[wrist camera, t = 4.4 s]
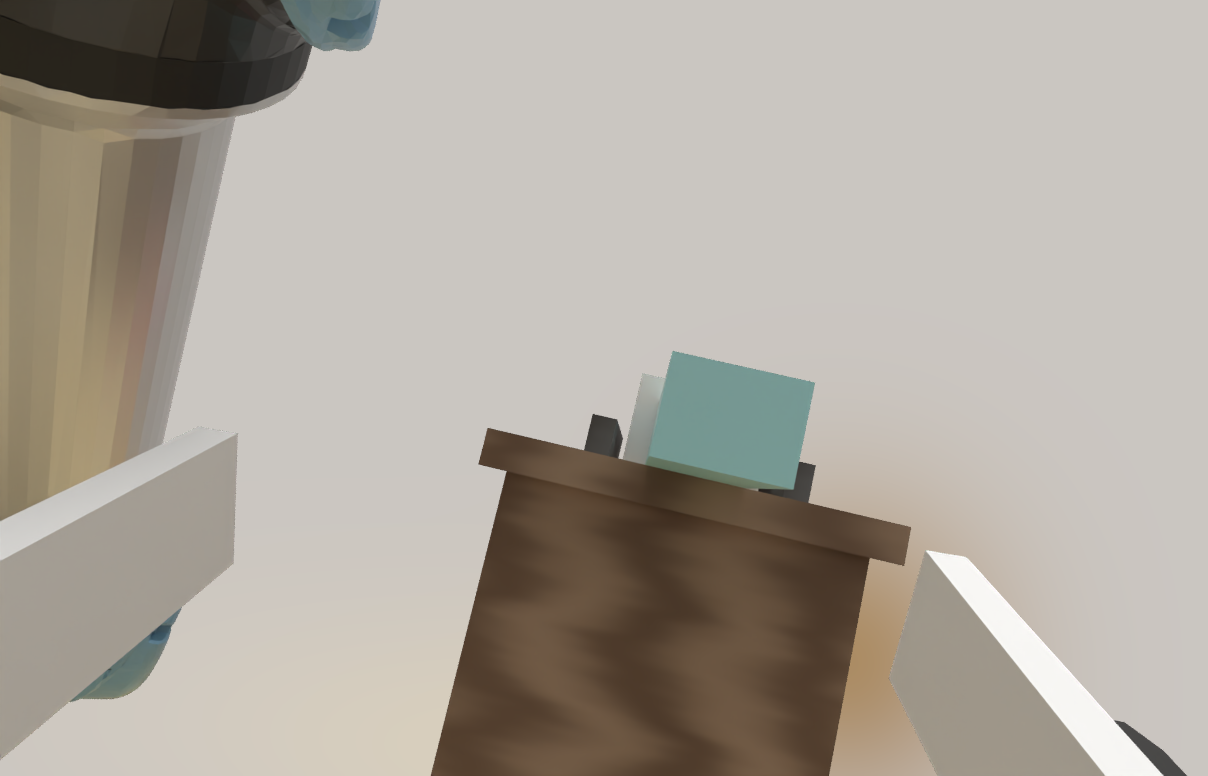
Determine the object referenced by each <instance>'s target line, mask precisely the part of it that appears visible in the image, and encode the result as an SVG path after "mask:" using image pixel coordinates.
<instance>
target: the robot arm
mask: <svg viewBox="0 0 1208 776" xmlns="http://www.w3.org/2000/svg"><path fill="white" fill-rule="evenodd" d="M379 4H380V0H0V760H1V759H2V758H3V757H4V756H5V755H7V754H8V753H9V752H10V751H11V750H12V749H14V748H15V747H16V746H17V745H19V744H20V743H21V742H22V741H23V740H24V739H25V738H27V737H28V736H29V735H30V734H32V733H33V732H34V731H35V730H36V729H37V728H39V727H40V726H41V725H42V724H43V723H45V722H46V721H47V720H48V719H49V718H51V717H52V716H53V715H54V714H55V713H57V712H58V711H59V710H60V709H61V708H62V707H64V706H65V705H66V704H67V703H68V702H72V701H76V700H79V699H114V698H119V697H123V696H125V695H128V694H130V693H131V692H133V691H134V690H136V689H137V688H138V687H139V686H140V685H141V684H142V683H143V682H144V681H145V680H146V679H147V677H148V676H149V675H150V673H151V672H152V670H153V669H154V667H155V665H156V663H157V661H158V660H159V658H160V656H161V654H162V651H163V650H164V648H165V645H166V643H167V641H168V638H169V635H170V631H171V626H172V625H173V624H174V622H175V620H176V618H177V616H178V614H179V612H180V610H181V608H182V606H184V605H185V604H186V603H187V602H188V601H189V600H191V599H192V598H193V597H194V596H195V595H197V594H198V593H199V592H200V591H201V590H202V589H204V588H205V587H206V586H207V585H208V584H209V583H211V582H212V581H213V580H214V579H215V578H217V577H218V576H219V575H220V574H222V573H223V572H224V571H225V570H226V569H227V568H229V567H230V566H231V565H232V564H233V557H234V529H235V526H234V525H235V498H236V495H235V494H236V466H237V435H238V434H237V433H233V432H227V431H221V430H215V429H209V428H204V427H197V428H195V429H193V430H191V431H188V432H186V433H184V434H182V435H180V436H178V437H176V438H174V439H172V440H170V441H168V442H165V443H163V439H164V434H165V430H166V425H167V421H168V416H169V412H170V408H171V403H172V399H173V394H174V390H175V385H176V381H177V376H178V372H179V367H180V363H181V358H182V354H183V349H184V344H185V340H186V336H187V331H188V327H189V322H190V317H191V313H192V309H193V304H194V300H195V295H196V291H197V286H198V282H199V277H200V273H201V269H202V264H203V260H204V255H205V251H206V246H207V241H208V237H209V233H210V228H211V224H212V219H213V214H214V210H215V206H216V201H217V197H218V192H219V188H220V183H221V179H222V174H223V170H224V165H225V161H226V156H227V152H228V147H229V143H230V138H231V134H232V130H233V125H234V121H235V117H236V116H240V115H245V114H249V113H253V112H255V111H258V110H261V109H264V108H267V107H270V106H272V105H274V104H275V103H277V102H279V101H281V100H283V99H284V98H286V97H287V96H288V95H289V94H290V93H292V92H293V91H294V90H295V89H296V87H297V86H298V84H299V82H300V81H301V79H302V78H303V75H304V72H305V69H306V66H307V62H308V58H309V55H310V52H311V48H312V46H314V47H316V48H318V49H321V50H323V51H330V50H333V49H341V50H346V51H359V50H361V49H363V48H365V47H366V46H367V45H368V44H369V43H370V41H371V39H372V34H373V32H374V28H375V24H376V19H377V14H378V9H379ZM162 443H163V444H162ZM889 680H890V682H891V684H892V686H893V688H894V690H895V692H896V693H897V696H898V697H899V700H900V702H901V703H902V706H903V708H904V710H905V712H906V714H907V716H908V718H909V720H910V722H911V724H912V726H913V727H914V729H915V731H916V733H917V735H918V737H919V739H920V741H921V743H922V745H923V747H924V749H925V751H926V753H927V755H928V757H929V759H930V761H931V763H932V765H933V767H934V769H935V771H936V773H937V775H938V776H1187V775H1186V774H1185V773H1184V772H1183V771H1182V770H1181V769H1180V768H1179V767H1178V766H1177V765H1176V764H1175V763H1174V762H1173V760H1172V759H1171V758H1170V757H1169V756H1168V755H1167V754H1166V753H1165V752H1164V751H1163V750H1162V749H1160V748H1159V747H1158V746H1156V745H1155V744H1153V743H1152V742H1151V741H1149V740H1148V739H1147V738H1145V737H1144V736H1143V735H1141V734H1140V733H1138V732H1137V731H1136V730H1134V729H1133V728H1131V727H1130V726H1129V725H1127V724H1126V723H1124V722H1120V721H1114V720H1113V719H1112V718H1111V717H1110V716H1109V715H1108V714H1107V713H1106V711H1105V710H1104V709H1103V708H1102V707H1101V706H1100V705H1099V704H1098V703H1097V702H1096V700H1095V699H1094V698H1093V697H1092V696H1091V695H1090V694H1089V693H1088V691H1087V690H1086V689H1085V688H1084V687H1083V686H1082V685H1081V684H1080V683H1079V681H1078V680H1077V679H1076V678H1075V677H1074V676H1073V675H1072V674H1071V673H1070V671H1069V670H1068V669H1067V668H1066V667H1065V666H1064V665H1063V664H1062V663H1061V662H1060V661H1059V659H1058V658H1057V657H1056V656H1055V655H1054V654H1053V653H1052V652H1051V650H1050V649H1049V648H1048V647H1047V646H1046V645H1045V644H1044V643H1043V641H1042V640H1041V639H1040V638H1039V637H1038V636H1037V635H1036V634H1035V633H1034V632H1033V630H1032V629H1031V628H1030V627H1029V626H1028V625H1027V624H1026V623H1025V621H1024V620H1022V618H1021V617H1020V616H1019V615H1018V614H1017V613H1016V611H1014V609H1013V608H1012V607H1011V606H1010V605H1009V604H1008V603H1007V601H1006V600H1005V599H1004V598H1003V597H1002V596H1001V595H1000V594H999V593H998V591H997V590H996V589H995V588H994V587H993V586H992V585H991V584H990V583H989V582H988V580H987V579H986V578H985V577H984V576H983V575H982V574H981V573H980V571H978V569H977V568H976V567H975V566H974V565H973V564H972V563H971V561H970V560H969V559H968V558H967V557H962V556H956V555H950V554H944V553H939V552H933V551H927V550H926V551H925V554H924V558H923V561H922V564H921V568H920V571H919V575H918V578H917V582H916V585H915V589H914V592H913V596H912V599H911V602H910V606H909V609H908V613H907V616H906V620H905V623H904V627H903V630H902V634H901V637H900V641H899V644H898V648H897V651H896V655H895V658H894V662H893V665H892V669H891V672H890V676H889Z"/></svg>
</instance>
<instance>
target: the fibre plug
mask: <svg viewBox="0 0 1208 776" xmlns="http://www.w3.org/2000/svg"><path fill="white" fill-rule="evenodd" d="M814 385H815V383H814V382H810V381H805V380H801V379H796V378H791V377H787V376H783V375H778V374H774V373H769V372H765V371H760V370H756V369H751V368H747V367H742V366H738V365H733V364H729V363H724V362H720V361H715V360H711V359H706V358H702V357H697V356H693V355H688V354H684V353H679V352H675V351H673V352H672V356H671V359H670V363H669V367H668V371H667V375H666V378H660V377H656V376H652V375H647V374H642V378H641V383H640V387H639V391H638V396H637V400H636V405H635V409H634V413H633V417H632V422H631V426H630V430H629V435H628V439H627V443H626V448H625V452H624V456H623V460H627V461H631V462H635V463H639V464H644V465H648V466H652V467H656V468H661V469H665V470H669V471H674V472H678V473H682V474H686V475H691V476H695V477H699V478H703V479H708V480H712V481H716V482H720V483H725V484H729V485H733V486H737V487H742V488H746V489H750V490H755V491H758V489H788V490H793V489H794V484H795V479H796V474H797V469H798V464H799V459H800V454H801V448H802V444H803V439H804V434H805V429H806V425H807V420H808V415H809V410H810V404H811V399H812V394H813V390H814Z"/></svg>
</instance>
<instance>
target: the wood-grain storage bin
mask: <svg viewBox="0 0 1208 776" xmlns="http://www.w3.org/2000/svg"><path fill="white" fill-rule="evenodd" d="M622 440H623V438H622V434H621V431H620V428H619V424H618V421H617V419H612V418H608V417H604V416H599V415H595V414H593V416H592V420H591V424H590V428H589V432H588V436H587V440H586V445H585V449H584V450H579V449H575V448H570V447H567V446H563V445H558V444H554V443H550V442H546V441H541V440H537V439H532V438H528V437H524V436H520V435H515V434H511V433H507V432H503V431H498V430H494V429H490V428H488V429H487V433H486V437H485V441H484V445H483V449H482V453H481V456H480V460H479V464H480V465H483V466H488V467H492V468H496V469H500V470H504V471H507V472H506V476H505V480H504V485H503V488H502V493H501V496H500V500H499V505H498V509H497V512H496V516H495V520H494V524H493V528H492V533H491V537H490V540H489V544H488V548H487V552H486V556H485V560H484V565H483V568H482V573H481V577H480V580H479V584H478V588H477V592H476V596H475V601H474V605H473V609H472V613H471V616H470V620H469V625H468V629H467V633H466V637H465V641H464V645H463V649H462V653H461V657H460V661H459V665H458V669H457V673H456V677H455V681H454V685H453V689H452V693H451V697H450V701H449V705H448V709H447V713H446V717H445V721H444V725H443V729H442V733H441V737H440V741H439V745H438V749H437V753H436V757H435V761H434V765H433V769H432V773H431V776H829V772H830V767H831V762H832V756H833V751H834V745H835V740H836V735H837V729H838V724H839V719H840V713H841V708H842V703H843V698H844V692H845V686H846V682H847V676H848V671H849V666H850V660H851V654H852V649H853V644H854V639H855V634H856V628H857V623H858V618H859V612H860V607H861V602H862V596H863V591H864V585H865V580H866V575H867V569H868V564H869V559H870V558H873V559H877V560H881V561H886V562H890V563H894V564H898V565H902V566H904V564H905V558H906V552H907V547H908V541H909V536H910V530H911V527H908V526H904V525H900V524H895V523H891V522H887V521H882V520H878V519H874V518H869V517H865V516H861V515H856V514H852V513H848V512H844V511H840V510H835V509H831V508H827V507H823V506H818V505H814V504H810V503H808V501H809V496H810V491H811V486H812V481H813V476H814V471H815V465H812V464H807V463H803V462H799V464H798V469H797V474H796V479H795V484H794V489H793V490H788V489H758V491H755V490H750V489H746V488H742V487H737V486H733V485H729V484H725V483H720V482H716V481H712V480H708V479H703V478H699V477H695V476H691V475H686V474H682V473H678V472H674V471H669V470H665V469H661V468H656V467H652V466H648V465H644V464H639V463H635V462H631V461H627V460H622V459H618V457H619V452H620V449H621V444H622Z"/></svg>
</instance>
